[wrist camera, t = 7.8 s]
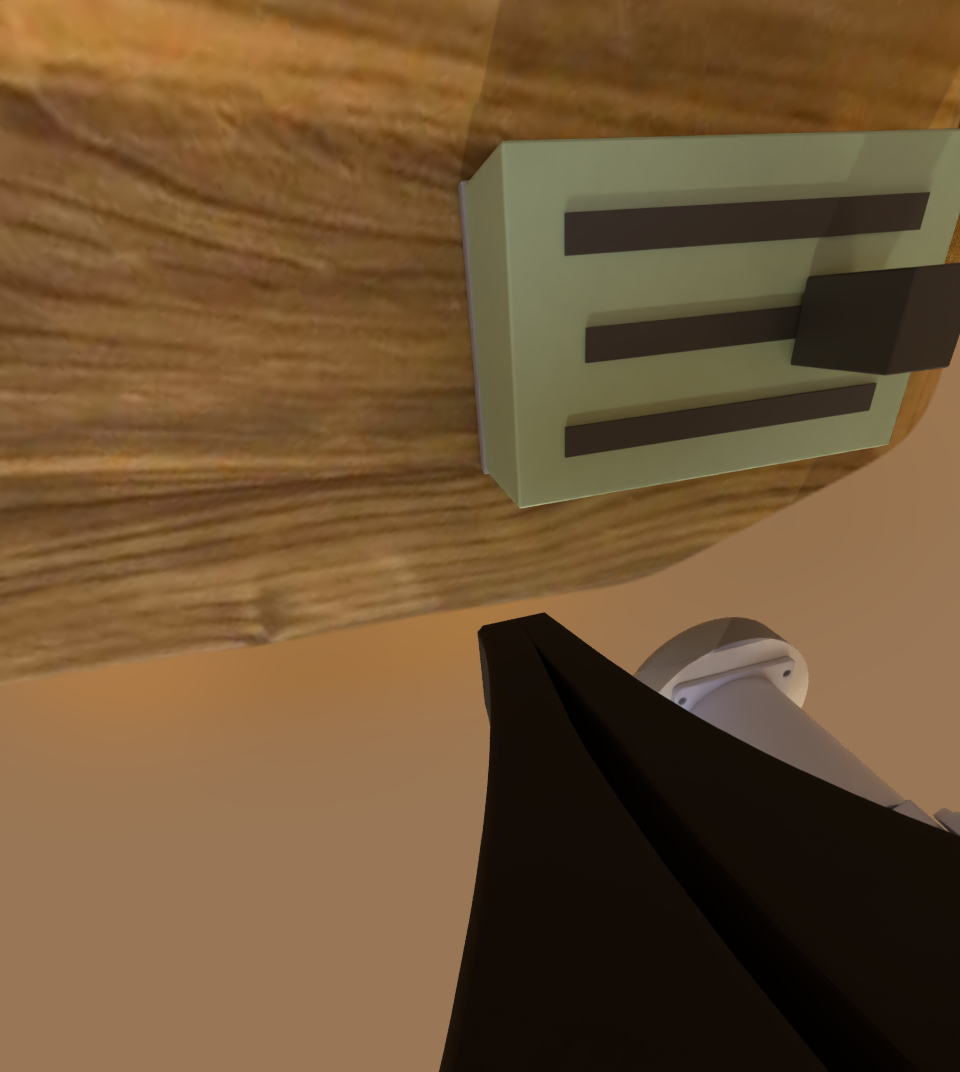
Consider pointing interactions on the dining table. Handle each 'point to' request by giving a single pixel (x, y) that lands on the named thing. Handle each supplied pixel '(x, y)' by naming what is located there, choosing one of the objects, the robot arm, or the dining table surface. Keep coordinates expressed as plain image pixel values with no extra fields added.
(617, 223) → the green slab
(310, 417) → the dining table surface
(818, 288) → the slider
